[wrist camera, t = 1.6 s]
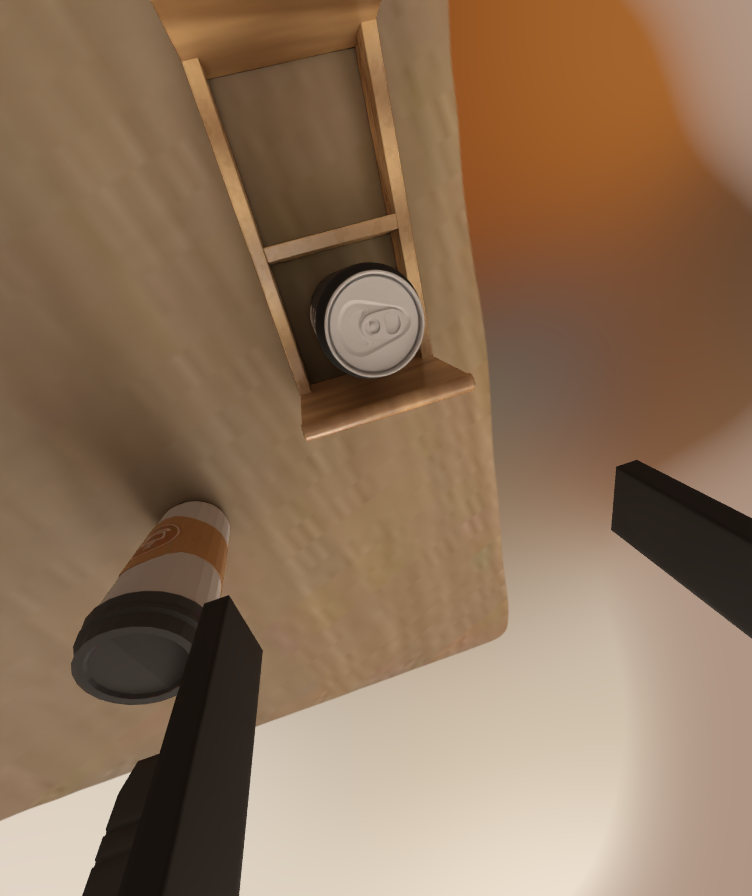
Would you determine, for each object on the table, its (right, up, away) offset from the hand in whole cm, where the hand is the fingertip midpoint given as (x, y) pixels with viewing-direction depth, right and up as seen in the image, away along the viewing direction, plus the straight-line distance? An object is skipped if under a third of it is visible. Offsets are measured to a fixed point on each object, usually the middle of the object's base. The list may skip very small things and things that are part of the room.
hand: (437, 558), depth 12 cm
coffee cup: (-20, -4, +24) cm, 32 cm away
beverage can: (-4, +15, +19) cm, 25 cm away
